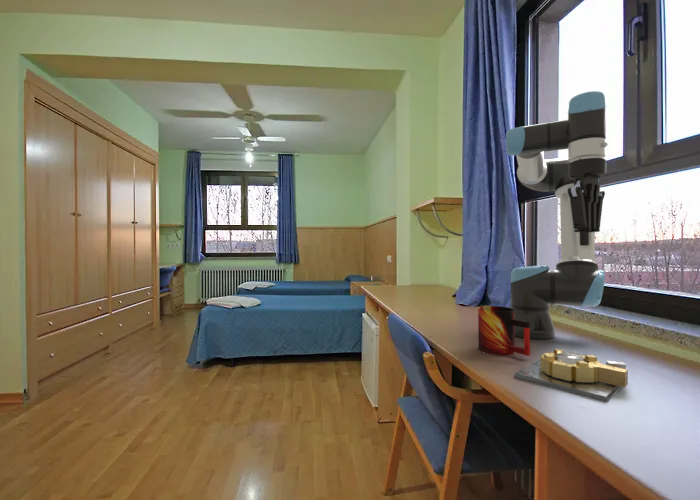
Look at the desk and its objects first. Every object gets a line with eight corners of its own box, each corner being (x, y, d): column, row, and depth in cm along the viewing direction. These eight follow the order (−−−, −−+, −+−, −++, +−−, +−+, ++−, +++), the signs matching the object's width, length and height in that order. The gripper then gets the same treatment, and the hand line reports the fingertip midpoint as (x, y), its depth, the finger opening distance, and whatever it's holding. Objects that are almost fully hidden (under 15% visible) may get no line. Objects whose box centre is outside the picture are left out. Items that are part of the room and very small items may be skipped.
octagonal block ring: (534, 372, 78) (534, 355, 78) (551, 361, 85) (551, 346, 85) (620, 393, 66) (620, 373, 66) (632, 379, 74) (632, 361, 74)
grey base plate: (543, 361, 90) (543, 342, 90) (630, 380, 76) (630, 357, 76) (514, 377, 78) (514, 355, 78) (611, 403, 65) (611, 376, 65)
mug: (529, 360, 91) (529, 314, 91) (474, 352, 98) (474, 309, 98) (533, 351, 99) (533, 309, 99) (482, 344, 106) (482, 305, 106)
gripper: (590, 152, 76) (591, 260, 76) (617, 160, 83) (617, 259, 83) (555, 160, 83) (555, 259, 83) (583, 167, 89) (583, 258, 89)
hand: (586, 259), depth 83 cm, fingers closed
